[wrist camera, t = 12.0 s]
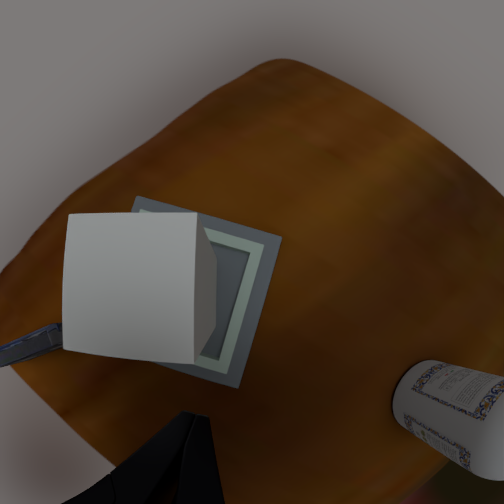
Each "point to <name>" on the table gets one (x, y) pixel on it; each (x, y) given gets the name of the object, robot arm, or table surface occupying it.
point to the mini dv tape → (32, 345)
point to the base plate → (229, 292)
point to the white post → (138, 286)
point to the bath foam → (455, 414)
